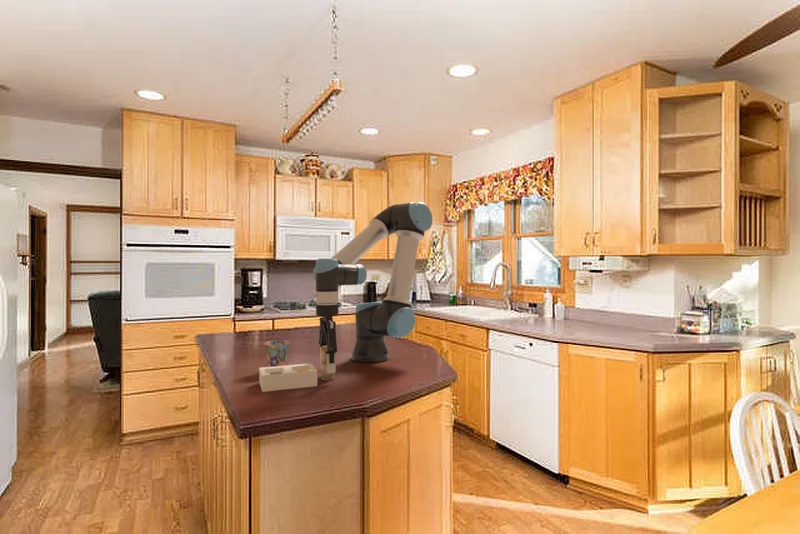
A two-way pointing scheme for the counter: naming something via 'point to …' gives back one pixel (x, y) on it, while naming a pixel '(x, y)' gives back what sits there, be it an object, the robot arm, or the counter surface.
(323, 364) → the peg
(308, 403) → the counter surface
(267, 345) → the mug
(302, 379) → the socket block
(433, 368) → the counter surface
